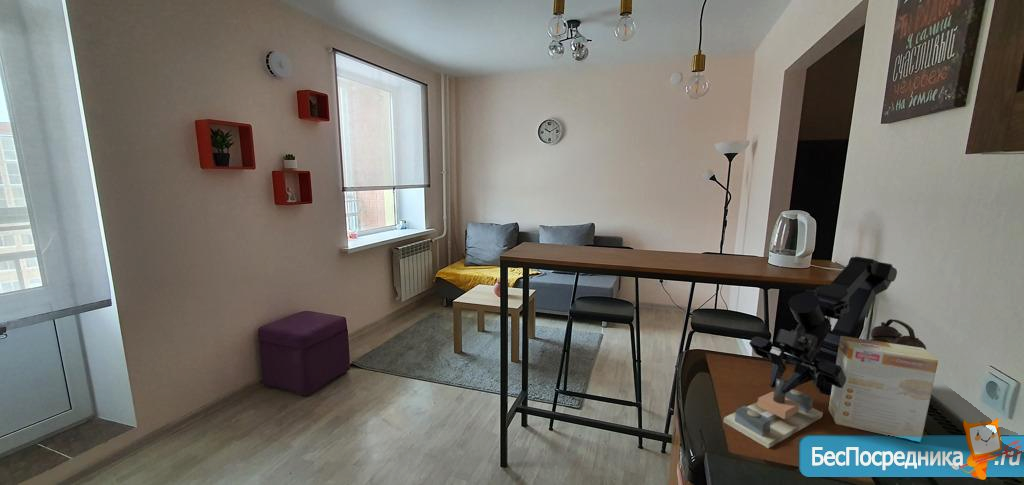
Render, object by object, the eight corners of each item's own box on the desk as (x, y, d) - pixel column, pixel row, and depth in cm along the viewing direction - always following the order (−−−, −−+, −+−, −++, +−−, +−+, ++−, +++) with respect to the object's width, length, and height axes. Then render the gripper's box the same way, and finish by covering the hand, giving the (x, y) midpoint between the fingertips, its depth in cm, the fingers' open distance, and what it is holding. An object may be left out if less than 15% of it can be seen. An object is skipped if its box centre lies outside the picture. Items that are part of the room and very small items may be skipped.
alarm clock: (926, 410, 97) (943, 334, 94) (892, 407, 99) (907, 331, 95) (884, 380, 111) (898, 313, 108) (855, 377, 113) (867, 311, 109)
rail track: (777, 396, 103) (779, 380, 102) (822, 417, 94) (825, 399, 93) (723, 422, 92) (725, 404, 91) (768, 448, 83) (770, 429, 82)
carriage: (771, 398, 97) (775, 371, 96) (798, 411, 92) (802, 383, 90) (757, 405, 94) (761, 377, 93) (784, 419, 89) (788, 389, 88)
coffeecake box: (907, 425, 91) (923, 347, 88) (922, 444, 85) (940, 360, 81) (826, 408, 98) (839, 334, 94) (835, 424, 91) (849, 345, 88)
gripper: (758, 305, 99) (726, 355, 96) (848, 331, 83) (814, 393, 80) (771, 329, 104) (742, 377, 101) (859, 358, 88) (827, 417, 85)
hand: (777, 389), depth 91 cm, fingers closed on carriage, 2 cm apart
